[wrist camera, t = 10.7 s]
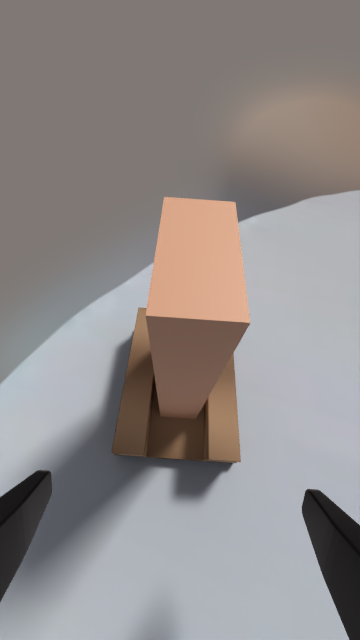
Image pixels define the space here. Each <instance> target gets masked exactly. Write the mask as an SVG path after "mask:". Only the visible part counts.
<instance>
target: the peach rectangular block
mask: <svg viewBox="0 0 360 640" xmlns="http://www.w3.org/2000/svg"><path fill="white" fill-rule="evenodd" d="M146 322H147V328H148V335H149V342H150V349H151V356H152V362H153V369H154V376H155V383H156V389H157V396H158V403H159V410H160V417H174V418H190V419H196V418H197V416H198V414H199V412H200V411H201V409H202V407H203V405H204V404H205V402H206V400H207V398H208V397H209V395H210V393H211V391H212V389H213V388H214V386H215V384H216V382H217V381H218V379H219V377H220V375H221V374H222V372H223V370H224V368H225V366H226V365H227V363H228V361H229V359H230V358H231V356H232V354H233V352H234V351H235V349H236V347H237V345H238V344H239V342H240V340H241V338H242V336H243V335H244V333H245V331H246V329H247V328H248V326H249V324H250V317H249V309H248V301H247V293H246V285H245V277H244V268H243V260H242V252H241V244H240V236H239V228H238V220H237V213H236V204H235V202H226V201H213V200H199V199H186V198H171V197H164V203H163V209H162V215H161V222H160V229H159V234H158V241H157V247H156V253H155V259H154V266H153V272H152V278H151V285H150V291H149V297H148V304H147V310H146Z"/></svg>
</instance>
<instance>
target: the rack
mask: <svg viewBox="0 0 360 640" xmlns="http://www.w3.org/2000/svg"><path fill="white" fill-rule="evenodd" d="M146 310H147V308H138V313H137V319H136V324H135V329H134V335H133V340H132V345H131V351H130V356H129V361H128V367H127V372H126V377H125V383H124V388H123V393H122V399H121V404H120V409H119V415H118V420H117V425H116V431H115V436H114V441H113V447H112V452H111V453H114V455H125V456H139V457H154V458H168V459H182V460H197V461H211V462H225V463H236V462H241V459H240V444H239V429H238V415H237V400H236V385H235V370H234V356H233V354H232V356H231V358H230V359H229V361H228V363H227V365H226V366H225V368H224V370H223V372H222V374H221V375H220V377H219V379H218V381H217V382H216V384H215V386H214V388H213V389H212V391H211V393H210V395H209V397H208V398H207V400H206V402H205V404H204V405H203V407H202V409H201V411H200V412H199V414H198V416H197V418H196V419H190V418H174V417H160V410H159V403H158V396H157V389H156V383H155V376H154V369H153V362H152V356H151V349H150V342H149V335H148V328H147V322H146Z"/></svg>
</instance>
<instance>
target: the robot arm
mask: <svg viewBox="0 0 360 640" xmlns="http://www.w3.org/2000/svg"><path fill="white" fill-rule="evenodd" d="M51 493H52V482H51V472H50V471H47V470H38V471H36V472H35V473H33V474H32V475H30V476H29V477H28V478H26V479H25V480H24V481H22V482H21V483H19V484H18V485H17V486H15V487H14V488H12V489H11V490H10V491H8V492H7V493H6V494H4V495H3V496H1V497H0V602H1V600H2V598H3V596H4V594H5V592H6V590H7V589H8V587H9V585H10V583H11V581H12V579H13V577H14V575H15V573H16V571H17V570H18V568H19V566H20V564H21V562H22V560H23V558H24V556H25V554H26V552H27V550H28V548H29V545H30V543H31V541H32V538H33V536H34V534H35V532H36V529H37V527H38V525H39V522H40V520H41V518H42V515H43V513H44V511H45V508H46V506H47V504H48V501H49V499H50V496H51ZM302 514H303V518H304V521H305V524H306V527H307V530H308V533H309V536H310V539H311V542H312V545H313V548H314V551H315V554H316V557H317V560H318V563H319V566H320V569H321V572H322V574H323V577H324V579H325V582H326V584H327V587H328V589H329V592H330V594H331V596H332V599H333V601H334V604H335V606H336V608H337V611H338V613H339V616H340V618H341V620H342V623H343V625H344V628H345V630H346V632H347V635H348V637H349V640H360V525H359V524H358V523H357V522H355V521H354V520H353V519H352V518H351V517H350V516H348V515H347V514H346V513H345V512H344V511H343V510H342V509H340V508H339V507H338V506H337V505H336V504H335V503H334V502H332V501H331V500H330V499H329V498H328V497H327V496H326V495H324V494H323V493H322V492H321V491H319V490H315V489H307V490H306V492H305V496H304V500H303V505H302Z"/></svg>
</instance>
